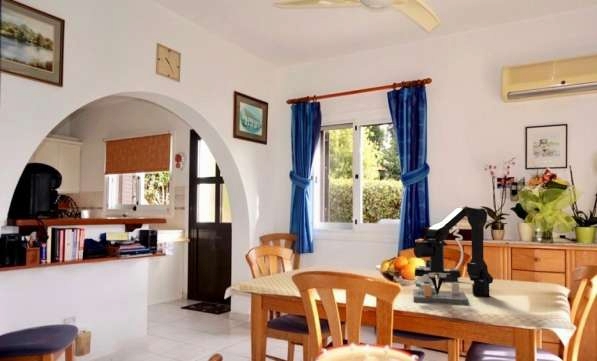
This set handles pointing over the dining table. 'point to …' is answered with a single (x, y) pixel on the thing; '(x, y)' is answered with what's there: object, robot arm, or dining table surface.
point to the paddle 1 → (427, 290)
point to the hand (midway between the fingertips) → (437, 292)
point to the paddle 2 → (455, 287)
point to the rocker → (423, 286)
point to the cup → (424, 277)
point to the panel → (440, 297)
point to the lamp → (449, 277)
